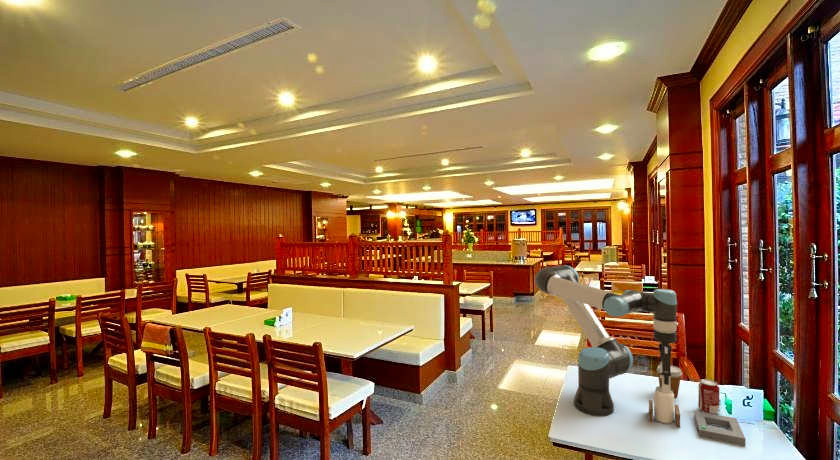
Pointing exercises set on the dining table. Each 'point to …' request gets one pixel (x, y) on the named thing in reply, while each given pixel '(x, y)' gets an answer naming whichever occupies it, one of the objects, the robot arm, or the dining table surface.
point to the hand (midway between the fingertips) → (665, 385)
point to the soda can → (708, 396)
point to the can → (663, 406)
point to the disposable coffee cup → (672, 379)
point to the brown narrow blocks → (677, 413)
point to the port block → (715, 433)
